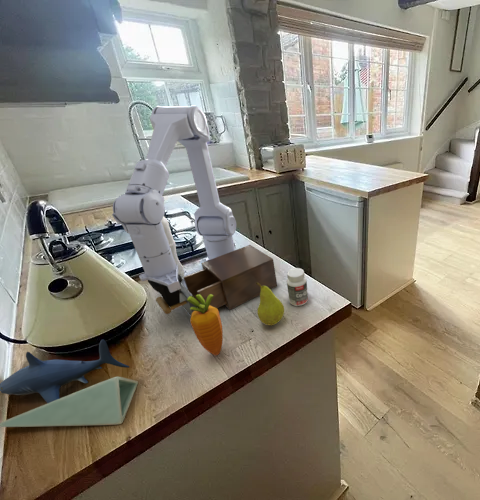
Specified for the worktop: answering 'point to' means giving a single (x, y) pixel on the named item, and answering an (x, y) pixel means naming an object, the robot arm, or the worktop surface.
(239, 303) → the cabinet
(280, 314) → the fruit
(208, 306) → the carrot
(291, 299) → the pill bottle
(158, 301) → the drawer
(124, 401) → the hollow green wedge
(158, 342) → the worktop surface
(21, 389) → the toy
